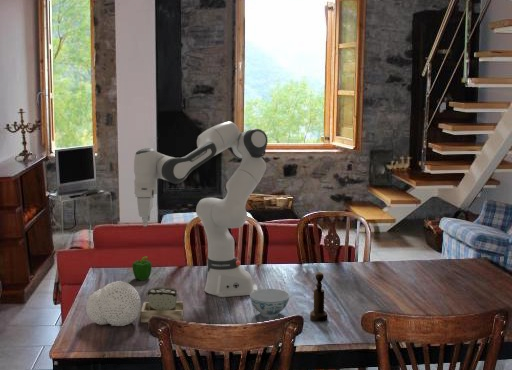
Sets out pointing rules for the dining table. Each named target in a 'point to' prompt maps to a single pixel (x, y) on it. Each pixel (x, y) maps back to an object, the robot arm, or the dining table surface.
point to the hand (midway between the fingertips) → (146, 223)
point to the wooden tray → (161, 312)
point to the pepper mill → (318, 301)
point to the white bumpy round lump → (114, 304)
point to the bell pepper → (142, 269)
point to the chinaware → (269, 301)
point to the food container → (162, 298)
